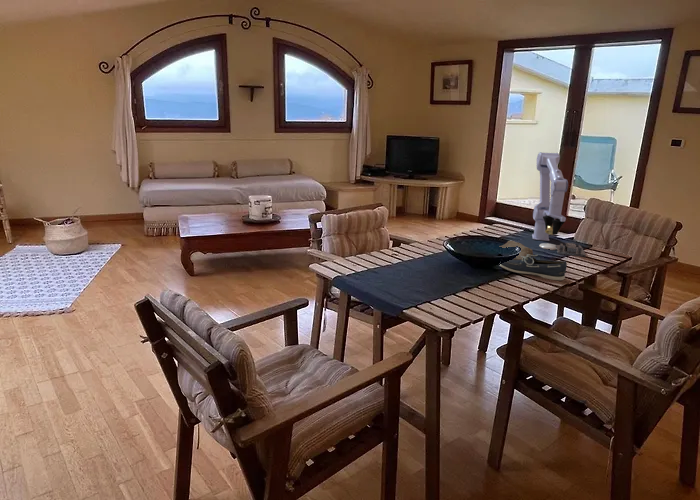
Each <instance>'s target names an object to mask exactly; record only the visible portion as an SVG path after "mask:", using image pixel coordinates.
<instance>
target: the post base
mask: <svg viewBox="0 0 700 500" xmlns="http://www.w3.org/2000/svg"><path fill="white" fill-rule="evenodd" d="M555 245H556V248H557V249H556V250H555V251H556V253H557V254H558V255H564V254H565V255H566V256H573V257H574V256H576V257H582V258H587V254H586V252H585V250H584V248H583V247H582V245H579V244H578V246H577V244H575V243H573V242H565V243H564V244H563V243H559V244H555Z"/></svg>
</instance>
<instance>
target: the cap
mask: <svg viewBox="0 0 700 500" xmlns="http://www.w3.org/2000/svg"><path fill="white" fill-rule="evenodd" d="M545 232H546V233H547V234H549V235H551V236H552V235H553V236H555V235H556V236H557V235H558V234H559V232H560V231H559V232H558V234H553V224H552V225H547V230H545Z"/></svg>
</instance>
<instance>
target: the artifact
mask: <svg viewBox="0 0 700 500" xmlns="http://www.w3.org/2000/svg"><path fill="white" fill-rule="evenodd" d="M516 246H518V247H520V248H521V252H520V253H519V255H518V256H516V258H514V259H513V260H522V258H523V257H520V256H524V257H525V256H527V254H530V255H534V252H533V249H532V248H530V247H527V246H525V245H524V244H523V243H520V242H517V241H515V240H508V241H507V242H506V243H504V244H503V245H499V247H502V248H506V247H507V248H508V247H516Z"/></svg>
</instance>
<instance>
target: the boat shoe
mask: <svg viewBox="0 0 700 500" xmlns="http://www.w3.org/2000/svg"><path fill="white" fill-rule="evenodd" d="M538 256H539V254H533V255H530V254H527V256H525V257H524V256H520V257H523V258H522V260H509V261H507V262H504V263H502V264H500V263H499V264H500V265H499V267H501V268H502V269H504V270H507V271H509V272H513V273H517V274H524V275H532V276H539V277H541V278H543V279H547V280H553V281H564V280H565V279H566V273H567V269H568V268H567V267H568V264H567V261H566V260H565V261H564V260H549V259H548V260H546V259H536V258H535V257H538Z"/></svg>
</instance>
